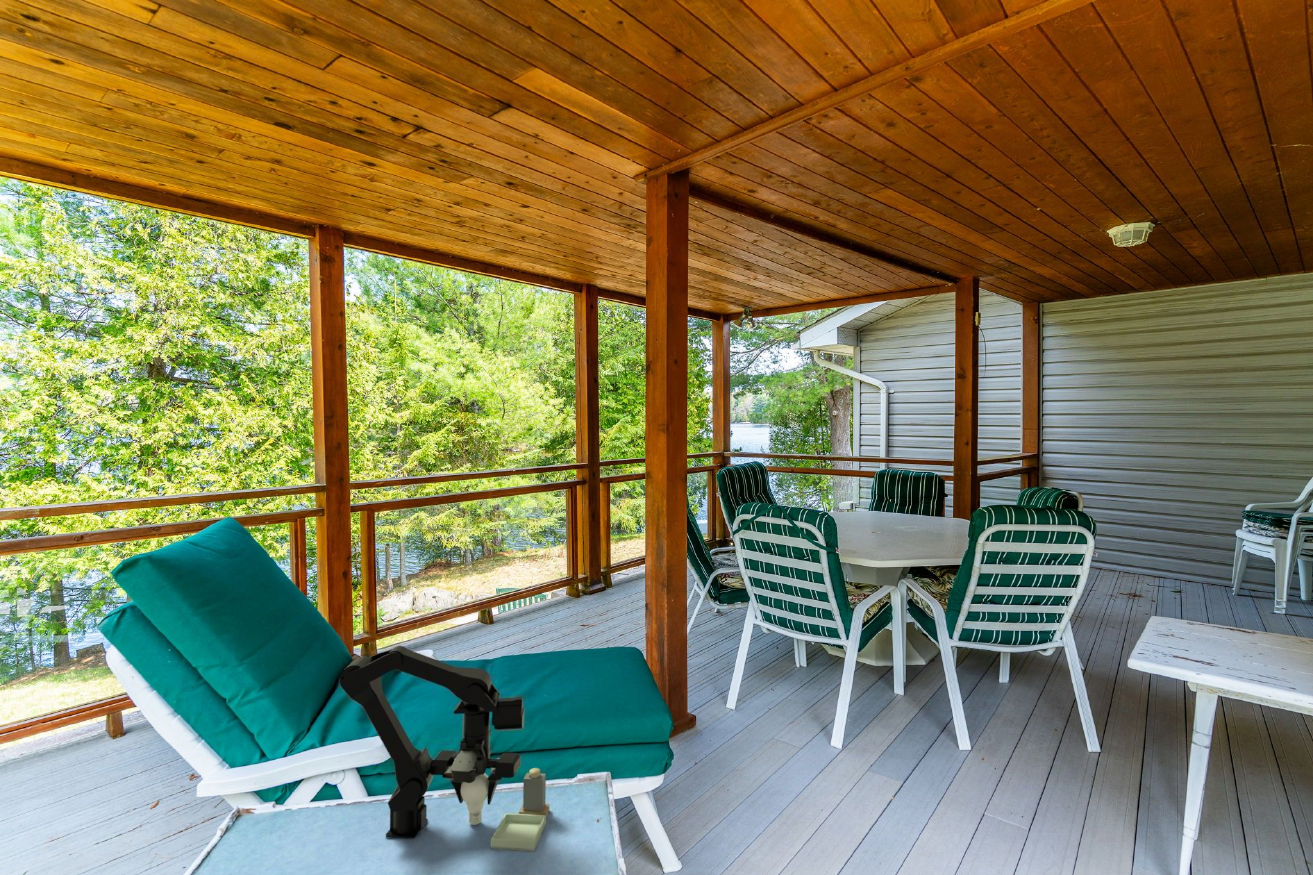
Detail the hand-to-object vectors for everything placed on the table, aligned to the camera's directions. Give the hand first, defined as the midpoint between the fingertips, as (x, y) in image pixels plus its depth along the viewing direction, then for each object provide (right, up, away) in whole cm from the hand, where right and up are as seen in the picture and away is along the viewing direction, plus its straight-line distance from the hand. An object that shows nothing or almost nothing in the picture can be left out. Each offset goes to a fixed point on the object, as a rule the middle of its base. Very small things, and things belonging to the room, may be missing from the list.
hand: (475, 802), depth 132 cm
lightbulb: (0, -5, 0) cm, 5 cm away
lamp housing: (+12, -5, +3) cm, 14 cm away
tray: (+11, -4, -5) cm, 12 cm away
